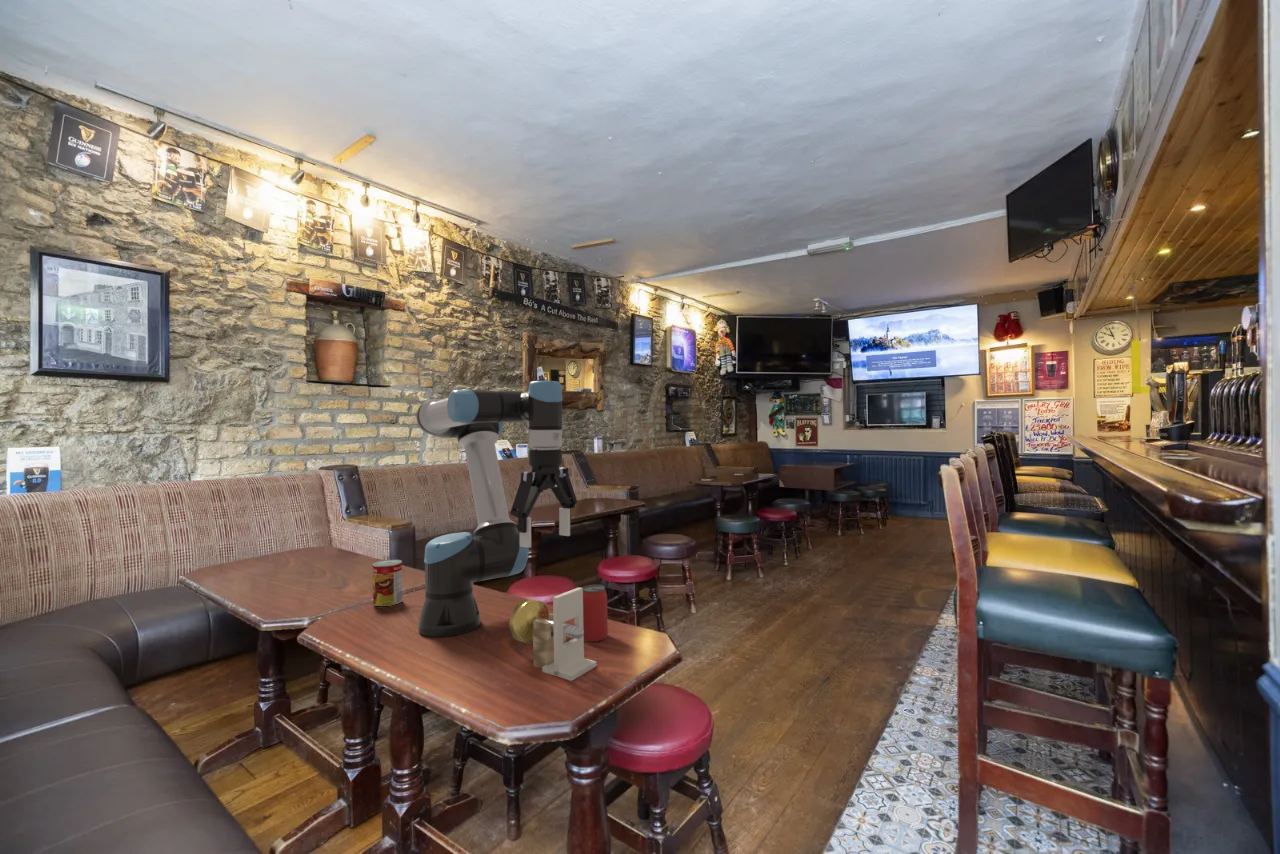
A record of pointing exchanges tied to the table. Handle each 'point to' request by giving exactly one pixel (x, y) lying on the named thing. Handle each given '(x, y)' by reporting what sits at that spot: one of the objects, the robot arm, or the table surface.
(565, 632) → the gold disc on rod
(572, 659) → the beige slotted stand
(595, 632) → the beer can
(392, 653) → the table surface
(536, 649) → the cradle
